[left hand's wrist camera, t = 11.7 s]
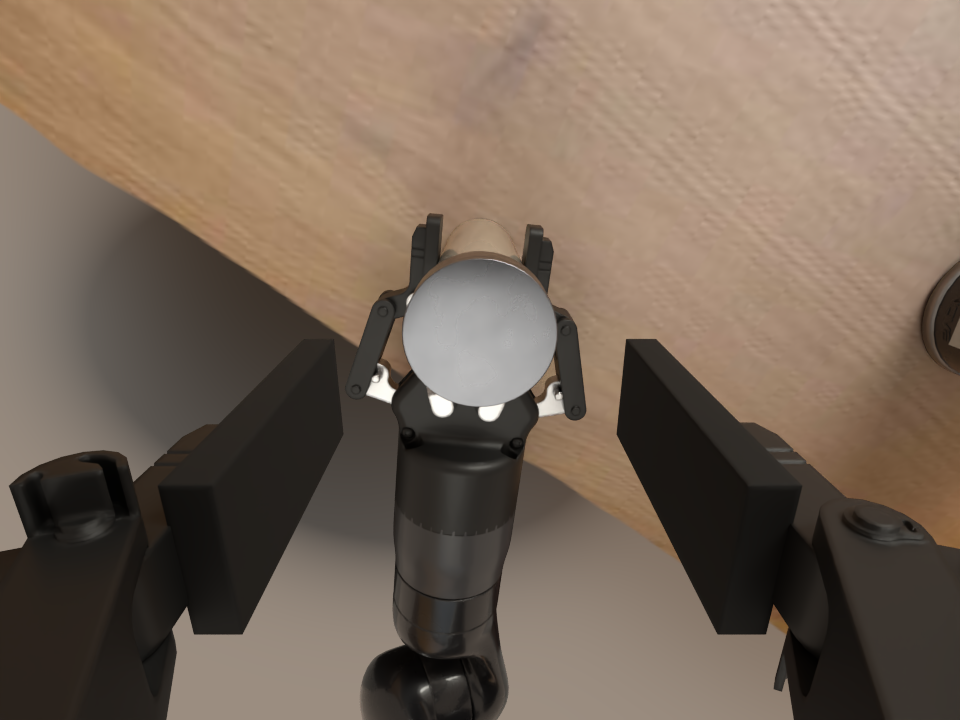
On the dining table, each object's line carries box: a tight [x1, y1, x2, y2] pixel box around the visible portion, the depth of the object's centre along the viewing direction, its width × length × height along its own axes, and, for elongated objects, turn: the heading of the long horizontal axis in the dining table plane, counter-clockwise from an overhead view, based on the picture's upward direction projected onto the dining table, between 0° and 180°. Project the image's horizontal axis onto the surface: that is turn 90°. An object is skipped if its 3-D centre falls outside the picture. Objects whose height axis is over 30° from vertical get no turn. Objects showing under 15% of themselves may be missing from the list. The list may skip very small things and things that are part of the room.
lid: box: [402, 251, 558, 407], centre depth 19 cm, size 5×5×2 cm
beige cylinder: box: [438, 219, 522, 264], centre depth 26 cm, size 4×4×17 cm
